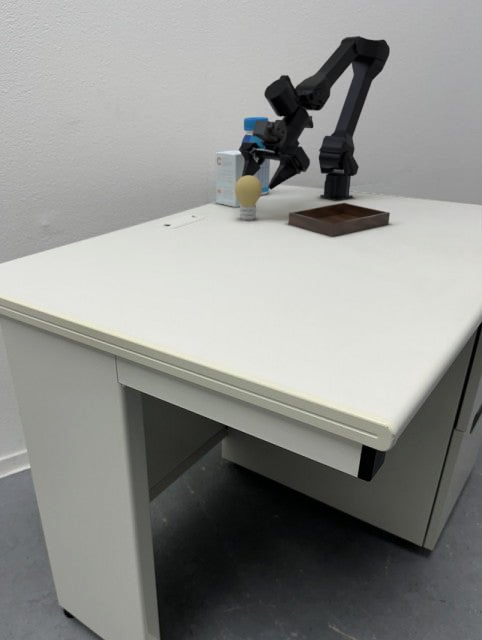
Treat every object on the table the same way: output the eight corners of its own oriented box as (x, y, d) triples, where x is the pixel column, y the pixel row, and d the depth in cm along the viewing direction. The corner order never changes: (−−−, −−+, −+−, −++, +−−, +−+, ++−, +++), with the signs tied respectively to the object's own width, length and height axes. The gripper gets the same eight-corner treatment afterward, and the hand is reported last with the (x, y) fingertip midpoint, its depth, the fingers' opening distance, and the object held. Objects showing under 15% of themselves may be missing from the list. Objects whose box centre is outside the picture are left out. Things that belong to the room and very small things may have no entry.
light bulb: (232, 217, 133) (232, 174, 129) (257, 215, 134) (258, 172, 129) (237, 223, 128) (238, 178, 123) (264, 221, 129) (265, 176, 124)
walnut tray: (342, 213, 133) (343, 202, 132) (388, 224, 123) (390, 212, 121) (288, 224, 126) (288, 212, 124) (332, 236, 115) (333, 224, 114)
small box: (252, 203, 146) (253, 151, 140) (235, 207, 143) (235, 154, 137) (232, 199, 152) (232, 149, 146) (215, 203, 148) (214, 152, 142)
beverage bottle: (261, 197, 154) (262, 119, 144) (235, 194, 158) (235, 118, 149) (274, 191, 160) (276, 116, 151) (249, 189, 164) (249, 116, 155)
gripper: (244, 105, 130) (210, 159, 129) (304, 106, 117) (267, 167, 117) (266, 137, 138) (235, 189, 137) (325, 142, 125) (290, 199, 125)
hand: (255, 186), depth 129 cm, fingers open, 9 cm apart
